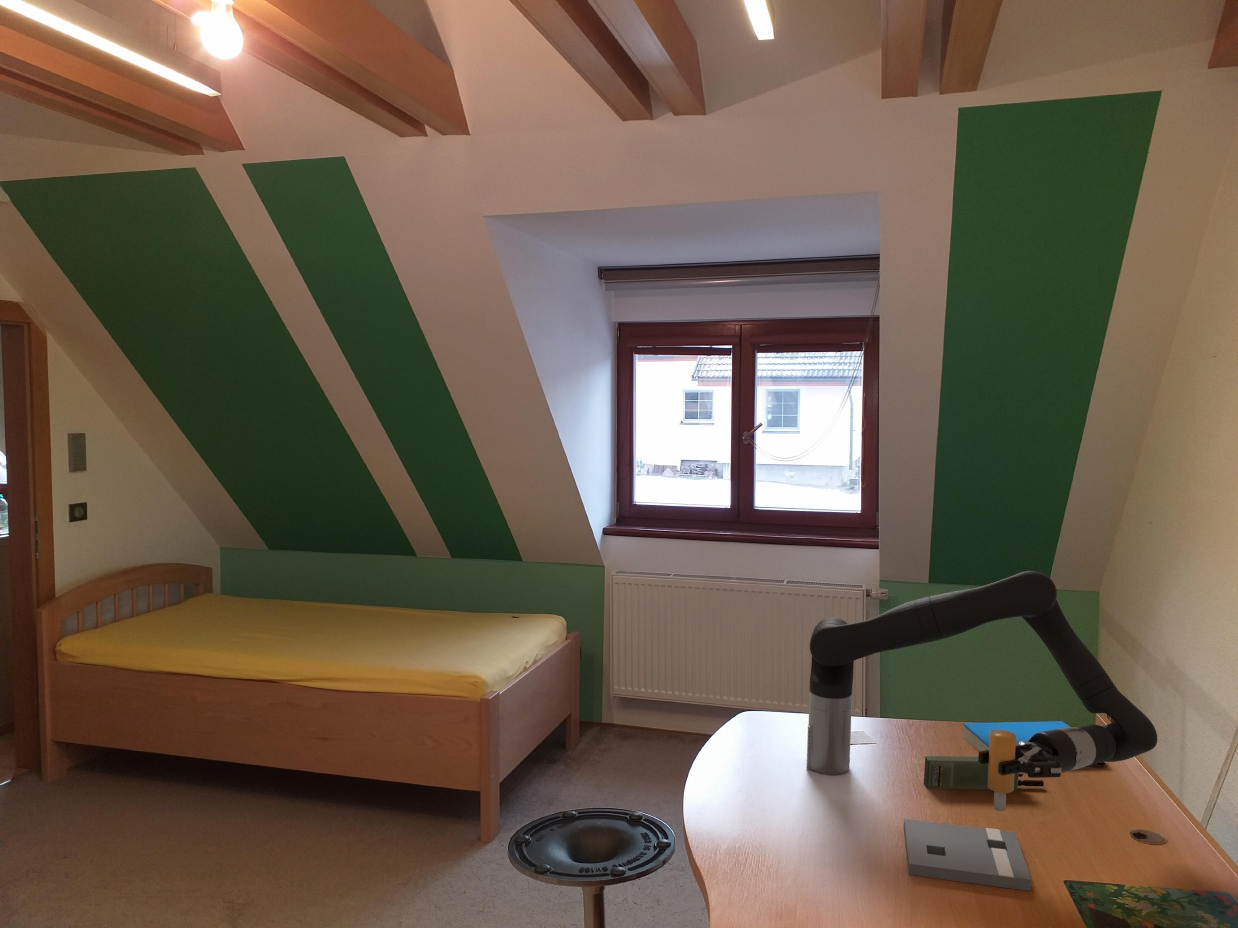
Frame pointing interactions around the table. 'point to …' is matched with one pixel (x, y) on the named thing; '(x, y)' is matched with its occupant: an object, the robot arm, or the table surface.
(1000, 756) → the orange and grey cylinder
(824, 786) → the table surface
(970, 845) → the board
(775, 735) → the table surface
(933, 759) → the handheld radio
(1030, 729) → the book
